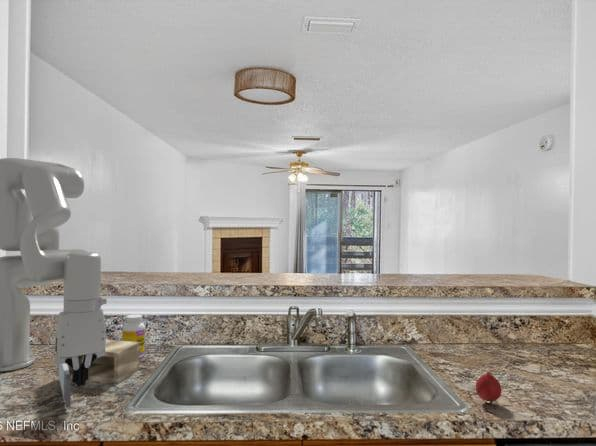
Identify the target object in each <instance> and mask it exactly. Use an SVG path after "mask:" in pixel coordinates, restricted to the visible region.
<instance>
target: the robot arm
mask: <svg viewBox="0 0 596 446" xmlns="http://www.w3.org/2000/svg"><path fill="white" fill-rule="evenodd" d="M84 190H85V181H84V178H83V176H82V174H81V173H80V171H79V170H78V169H77V168H74V167H70V166H67V165H64V164H62V163H57V162H49V161H40V160H33V159H27V158H19V157H18V158H17V157H16V158H15V157H2V158H0V250H1V251H4V252H19V253H20V254H19V255H17V254H16V255H5V256H0V373H1V372H10V371H15V370H20V369H23V368H26V367H28V366H31V365H33V364H34V363H35V362H36V356H35V355H33V354H30V332H31V331H30V328H31V326H30V325H31V301H30V299H29V297H28V296H27V295H26V294H24V293H23V291H22V290H21V289H24V288H25V289H26V288H32V287H34V288H35V287H40V286H41V287H43V286H49V285H51V284H53V283H55V282H63V311H60V312H59V314H58V316H57V322H56V326H55V327H56V329H55V337H54V338H55V339H54V353H55V355H54V359H53V362H54V363H55V364H57V365H58V364H67V365H69V366H70V367H72V368H73V378H72V379H71V381H72V383H74V384H75V385H76V387H77V388H79V387H82V386H83V387H84V386H86V383H87V381H89V380H88V368H89V367H90V365H91V363H92V362H93V361H94V360H95V359H96V358H99V357H101V356H104V355H105V354H106V350H105V347H106V340H107V333H106V331H107V330H106V320H105V315H104V311H103V309H102V306H103V305H107V302H108V301H107V298H103V297H101V283H102V282H101V281H102V280H101V279H102V278H101V277H102V276H101V275H102V274H101V272H102V271H101V270H102V257H101V255H100V254H98V253H96V252H91V251H87V250H85V249H80V248H76V249H73V248H71V249H60V231H59V227H60V226H62V225H64V224H65V223H67V222H68V221H69V219H70V218H71V214H72V212H71V208H70V206H69V202H68V200H67V199H78V198H80V197H81V196H82V194H83V192H84ZM78 356H83V360H82V363H81V365H79V362H78Z"/></svg>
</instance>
